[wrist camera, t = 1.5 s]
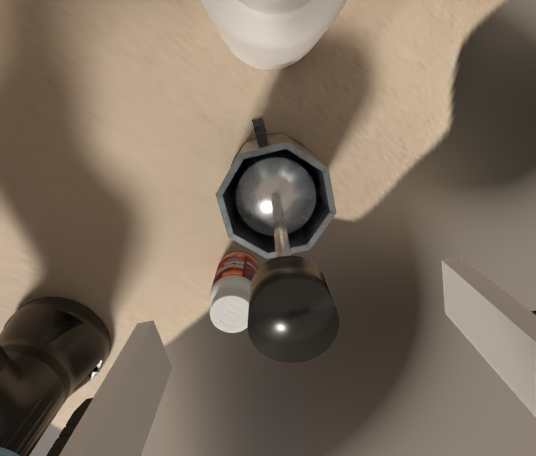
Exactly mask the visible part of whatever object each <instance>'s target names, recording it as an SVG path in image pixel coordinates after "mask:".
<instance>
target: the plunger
mask: <svg viewBox="0 0 536 456" xmlns="http://www.w3.org/2000/svg"><path fill="white" fill-rule="evenodd" d="M315 202H316V191H315V186H314V183H313V181H312V179H311V177H310V175H309V174H308V172H307V171H306V170H305V169H304V168H303V167H302V166H301V165H299V164H298V163H296V162H295V161H293V160H290V159H287V158H283V157H269V158H265V159H262V160H260V161H257V162H256V163H254V164H253V165H251V166H250V167H249V168H248V169H247V170H246V171H245V172H244V174H243V175H242V177H241V179H240V181H239V184H238V187H237V191H236V204H237V208H238V211H239V213H240V215H241V217H242V219H243V220H244V221H245V222H246V224H247V225H249V226H250V227H251V228H252V229H254V230H255V231H257V232H259V233H262V234H265V235H270V236H274V238H275V250H276V258H274V259H271V260H269V261H268V262H266V263H265V264H263V265H262V266H261V267H260V268H259V269H258V270H257V271H256V273H255V274H254V276H253V278H252V281H251V285H250V297H249V310H248V324H247V326H248V333H249V336H250V339H251V340H252V342H253V344H254V345H255V347H256V348H257V349H258V350H259V351H260V352H261V353H263V354H264V355H266V356H268V357H269V358H272V359H274V360H278V361H281V362H290V363H292V362H302V361H306V360H310V359H312V358H314V357H316V356H318V355H320V354H321V353H323V352H324V351H325V350H326V349H327V348H328V347H329V346H330V345H331V344H332V342H333V341H334V339H335V337H336V335H337V332H338V328H339V317H338V313H337V310H336V307H335V304H334V302H333V298H332V296H331V293H330V290H329V287H328V285H327V282H326V279H325V277H324V274H323V273H322V271H321V270H320V269H319V267H318V266H316V265H315V264H314V263H313V262H311V261H310V260H308V259H305V258H302V257H299V256H292V255H291V249H290V244H289V239H288V234H289V233H292V232H294V231H296V230H297V229H299V228H300V227H302V226H303V225H304V224H305V223H306V222H307V220H308V219H309V218H310V216H311V214H312V212H313V210H314V207H315Z"/></svg>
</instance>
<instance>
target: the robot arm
mask: <svg viewBox="0 0 536 456" xmlns="http://www.w3.org/2000/svg"><path fill="white" fill-rule="evenodd" d="M442 273H443V288H444V302H445V314H446V315H447V316H448V317H449V318H450V319H451V320H452V321H453V323H454V324H455V325H456V326H457V327H458V328H459V330H460V331H461V332H462V333H463V334H464V335H465V336H466V338H467V339H468V340H469V341H470V342H471V343H472V345H473V346H474V347H475V348H476V349H477V350H478V351H479V353H480V354H481V355H482V356H483V357H484V358H485V360H486V361H487V362H488V363H489V364H490V365H491V366H492V368H493V369H494V370H495V371H496V372H497V373H498V374H499V376H500V377H501V378H502V379H503V380H504V381H505V382H506V383H507V385H508V386H509V387H510V388H511V389H512V391H513V392H514V393H515V394H516V395H517V396H518V397H519V399H520V400H521V401H522V402H523V403H524V404H525V406H526V407H527V408H528V409H529V410H530V411H531V412H532V414H533V415H534V416H535V417H536V311H530V310H528V309H527V308H526V307H524V306H523V305H522V304H521V303H519V302H518V301H517V300H516V299H514V298H513V297H512V296H510V295H509V294H508V293H506V292H505V291H504V290H502V289H501V288H500V287H499V286H497V285H496V284H495V283H493V282H492V281H491V280H489V279H488V278H487V277H486V276H484V275H483V274H482V273H481V272H479V271H478V270H477V269H475V268H474V267H472V266H471V265H470V264H469V263H467V262H466V261H465V260H464V259H462V258H461V257H459V256H458V257H454V258H449V259H444V260H442ZM110 345H111V344H110V337H109V334H108V331H107V329H106V327H105V325H104V324H103V322H102V321H101V320H100V319H99V317H98V316H97V315H96V314H94V313H93V312H92V311H91V310H89V309H88V308H86V307H85V306H83V305H81V304H79V303H77V302H74V301H71V300H68V299H64V298H57V297H47V298H40V299H36V300H33V301H31V302H29V303H27V304H26V305H24V306H23V307H22V308H20V309H19V310H18V311H17V312H16V313H14V314H13V315H12V316H11V317H10V319H9V320H8V321H7V322H6V324H5V326H4V329H3V331H2V332H1V334H0V456H29V455H30V453H31V452H32V450H33V449H34V447H35V446H36V444H37V443H38V441H39V440H40V438H41V436H42V435H43V434H44V432H45V431H46V429H47V428H48V426H49V425H50V423H51V422H52V420H53V419H54V417H55V416H56V414H57V413H58V411H59V410H60V408H61V407H62V405H63V404H64V402H65V401H66V399H67V398H68V397H69V396H70V395H72V394H73V393H74V392H76V391H77V390H78V389H79V388H81V387H82V386H83V385H85V384H86V383H87V382H89V381H90V380H91V379H92V378H93V377H95V376H96V375H97V373H98V372H99V371H100V370H101V368H102V366H103V365H104V363H105V362H106V360H107V358H108V356H109V353H110ZM171 370H172V365H171V363H170V360H169V358H168V355H167V353H166V350H165V348H164V346H163V343H162V341H161V338H160V336H159V333H158V331H157V328H156V326H155V324H154V321H148V322H143V323H138V324H137V325H136V327H135V329H134V330H133V332H132V334H131V335H130V337H129V339H128V340H127V342H126V344H125V345H124V347H123V349H122V351H121V352H120V354H119V356H118V357H117V359H116V361H115V362H114V364H113V366H112V367H111V369H110V371H109V372H108V374H107V376H106V378H105V379H104V381H103V383H102V384H101V386H100V388H99V389H98V391H97V393H96V394H95V396H94V398H90V399H86V400H85V401H84V402H83V403H82V404H81V405H80V406H79V407H78V408H77V409H76V410H75V411H74V413H73V414H72V416H71V417H70V419H69V421H68V422H67V424H66V427H64V429H63V430H62V432H61V433H60V435H59V438H57V440H56V441H55V443H54V444H53V446H52V448H51V449H50V451H49V452H48V454H47V456H141V453H142V451H143V448H144V445H145V442H146V439H147V437H148V434H149V431H150V428H151V426H152V423H153V420H154V417H155V414H156V412H157V409H158V406H159V403H160V401H161V398H162V395H163V392H164V389H165V387H166V384H167V381H168V378H169V376H170V372H171Z"/></svg>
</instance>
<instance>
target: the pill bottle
mask: <svg viewBox="0 0 536 456" xmlns="http://www.w3.org/2000/svg"><path fill="white" fill-rule="evenodd" d="M258 269H259V267H258V264H257V262H256V261H255V259H254V258H253V257H251V256H250V255H248V254H246V253H242V252H234V253H230V254H228V255H226V256H225V257H224V258H223V259H222V260H221V261H220V263H219V265H218V268H217V271H216V275H215V278H214V282H213V285H212V288H211V292H210V303H211V308H210V318H211V320H212V322H213V324H214V325H215V326H216V327H217V328H218V329H221V330H222V331H225V332H230V333H234V332H240V331H242V330H244V329H246V328H247V327H248V326H247V324H248V310H249V297H250V285H251V281H252V278H253V276H254V274H255V273H256V271H257V270H258Z"/></svg>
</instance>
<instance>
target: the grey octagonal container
mask: <svg viewBox="0 0 536 456" xmlns="http://www.w3.org/2000/svg"><path fill="white" fill-rule="evenodd" d="M252 122H253V126H254V130H255V134H256V138H255V139H252V140H251V141H247V142H245V144H244V146H243V147H242V148H241V149H240V150H239V152H238V153H237V155H236V156H235V158H234V160H233V162H232V165H231V168H230V170H229V171H228V173H227V175H226V177H225V179H224V180H223V182H222V184H221V186H220V188H219V189H218V191H217V193H216V197H217V200H218V204H219V207H220V211H221V214H222V217H223V221H224V224H225V227H226V231H227V234H228V237H229V238H230V239H232V240H234V241H236V242H238V243H239V244H241V245H243V246H245V247H247V248H248V249H250V250H252V251H254V252H255V253H257V254H259V255H261V256H263V257H264V258H266V259H269V258H273V257H276V250H275V238H274V236H270V235H265V234H262V233H259V232H257V231H255V230H254V229H252V228H251V227H250V226H249V225H247V224H246V222H245V221H244V220H243V219H242V217H241V215H240V213H239V211H238V208H237V204H236V191H237V187H238V184H239V181H240V179H241V177H242V175H243V174H244V172H245V171H246V170H247V169H248V168H249V167H250V166H251V165H253V164H254V163H256V162H257V161H260V160H262V159H265V158H269V157H283V158H287V159H290V160H293V161H295V162H296V163H298V164H299V165H301V166H302V167H303V168H304V169H305V170H306V171H307V172H308V174H309V175H310V177H311V179H312V181H313V183H314V186H315V191H316V202H315V207H314V210H313V212H312V214H311V216H310V218H309V219H308V220H307V222H306V223H305V224H304V225H303V226H302V227H300V228H299V229H297V230H296V231H294V232H292V233H289V234H288V239H289V244H290V249H291V254H292V253H296V252H301V251H305V250H310V249H311V248H312V246H313V245H314V244H315V242H316V241H317V239H318V238H319V236H320V235H321V234H322V232H323V231H324V230H325V228H326V226H327V225H328V224H329V222H330V221H331V220H332V218H333V217H334V216H335V214H336V208H335V203H334V197H333V191H332V186H331V180H330V174H329V169H328V167H327V166H326V165H325V164H324V163H323V162H322V161H320V160H319V159H318V158H317V157H316V156H315V155H314V154H313V153H312V152H310V151H309V150H307V149H306V148H305V147H304V146H303V145H302V144H301V143H299V142H298V141H296V140H295V139H293V138H290V137H288V136H285V135H284V134H282V133H280V134H268V135H267V133H266V129H265V124H264V120H263V116H259V117H255V118H253V120H252Z"/></svg>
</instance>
